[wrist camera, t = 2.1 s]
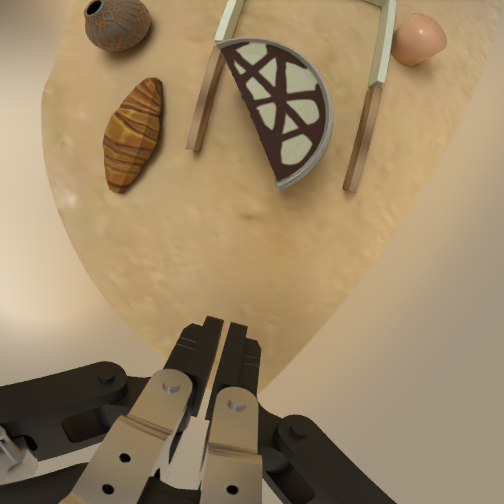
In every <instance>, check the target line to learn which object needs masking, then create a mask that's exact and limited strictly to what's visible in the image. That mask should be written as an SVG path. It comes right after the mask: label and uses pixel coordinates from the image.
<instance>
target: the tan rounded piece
mask: <svg viewBox="0 0 504 504" xmlns="http://www.w3.org/2000/svg"><path fill="white" fill-rule="evenodd" d="M446 44H447V40H446V36H445V33H444V31H443V30H442V28H441V27H440V26H439V24H438V23H437V22H436V21H434V20H433V19H432V18H430V17H428V16H426V15H424V14H413V15H412V16H410V17H409V18H408V19H407V20H406V21H405V22H404V23H403V24H402V25H401V26H400V27H399V28H398V29H397V30H396V31H395V32H394V33H393V36H392V43H391V50H390V52H391V54H392V55H393V56H394V58H395V59H396V60H398V61H399V62H401V63H402V64H404V65H407V66H415V65H417V64H419V63H421V62H422V61H424V60H426V59H428V58H429V57H431V56H433V55H435V54H436V53H438V52H440V51H442V50H443V49H444V48H445V47H446Z"/></svg>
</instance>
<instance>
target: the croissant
mask: <svg viewBox="0 0 504 504" xmlns="http://www.w3.org/2000/svg"><path fill="white" fill-rule="evenodd" d="M161 110H162V82H161V81H160V80H159V79H157V78H146V79H145V80H144V81H142V82H141V83H140V84H139V85H137V86H136V87H135V88H134V89H133V91H132V92H131V93H130V94H129V95H128V96H127V97H126V99H125V100H124V101H123V103H122V104H121V106H120V107H119V108H118V109H117V111H116V112H115V113H114V114H113V115H112V116H111V118H110V121H109V123H108V125H107V127H106V129H105V134H104V140H103V148H104V164H105V173H106V179H107V182H108V186H109V189H110V190H111V191H113V192H115V193H123V192H124V191H125V190H126V188H127V187H128V186H129V185H130V183H131V182H132V181H133V180H134V179H135V177H136V176H137V175H138V174H139V173H140V170H141V167H142V165H143V163H144V162H145V161H146V160H147V159H148V158H149V157H150V155H151V153H152V151H153V149H154V147H155V146H156V144H157V139H158V133H159V127H160V124H159V115H160V112H161Z"/></svg>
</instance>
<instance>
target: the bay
mask: <svg viewBox="0 0 504 504" xmlns="http://www.w3.org/2000/svg"><path fill="white" fill-rule="evenodd" d="M244 1H245V0H228V3H227V6H226V8H225V11H224V14H223V16H222V19H221V22H220V25H219V27H218V30H217V33H216V36H215V39H214V40H215V42H216V43H219V42H222V41H225V40H229V39H232V36H233V33H234V30H235V27H236V24H237V21H238V18H239V15H240V12H241V10H242V7H243V4H244ZM365 1H367V2H370V3H373V4H375V5H378V6H380V7H382V9H381V17H380V23H379V30H378V36H377V42H376V48H375V54H374V59H373V65H372V70H371V75H370V80H369V85H368V87H369V88H372V87H374V86H377V87H380V86H381V85H383V84H385V79H386V74H387V68H388V62H389V56H390V50H391V43H392V36H393V28H394V20H395V11H396V1H397V0H365Z"/></svg>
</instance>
